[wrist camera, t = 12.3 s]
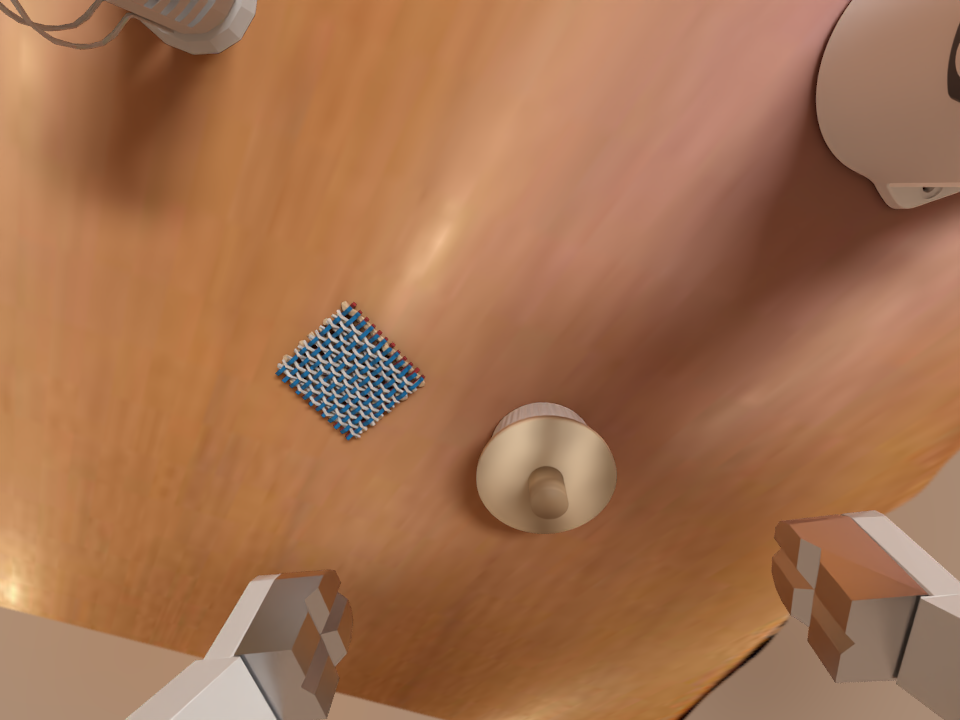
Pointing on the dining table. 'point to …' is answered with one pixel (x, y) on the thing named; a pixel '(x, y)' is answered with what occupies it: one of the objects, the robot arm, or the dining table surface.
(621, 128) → the dining table surface
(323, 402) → the woven mat
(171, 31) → the french press
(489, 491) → the drop lid
